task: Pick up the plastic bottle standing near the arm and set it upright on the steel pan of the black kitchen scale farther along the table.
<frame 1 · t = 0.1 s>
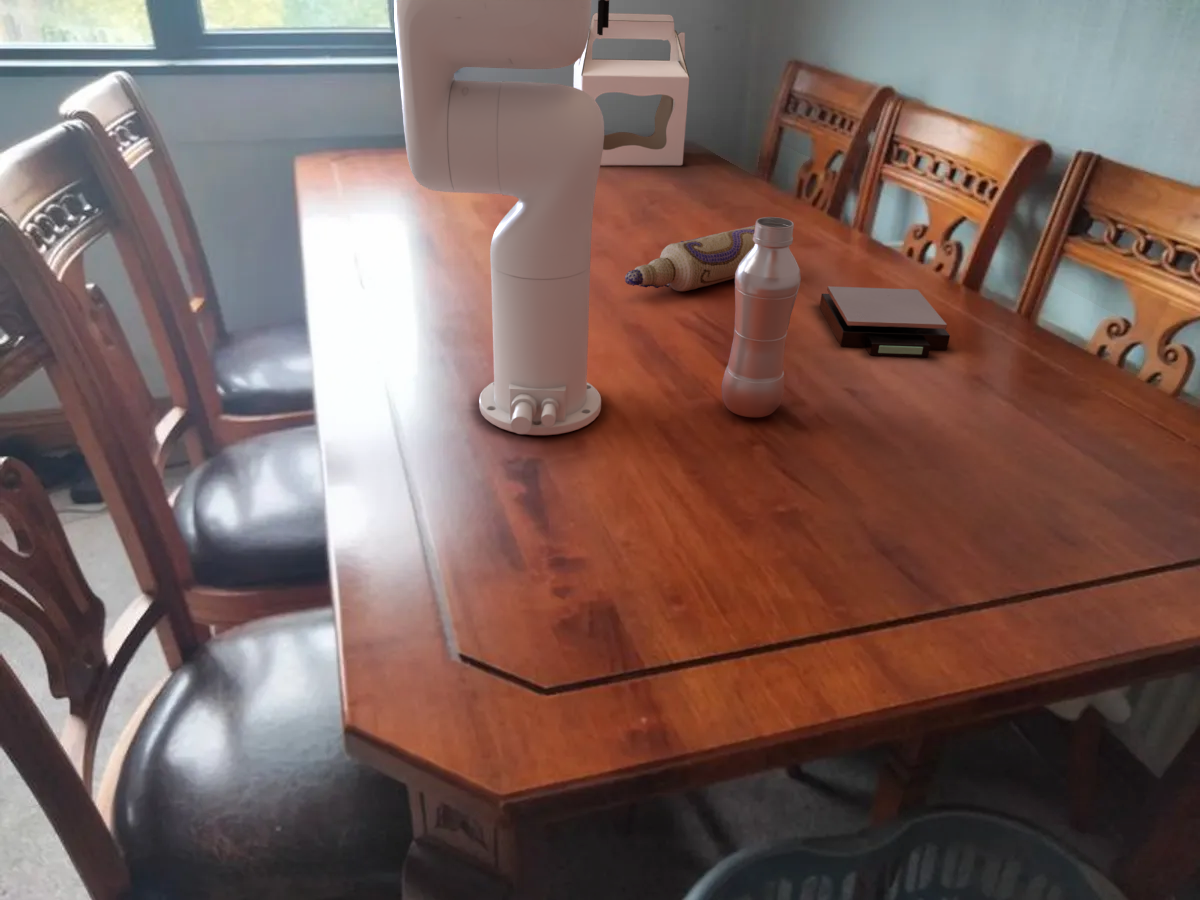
hand: (562, 32, 118), 31 cm above the table, tool pointing down, fingers open, 9 cm apart
gable box: (626, 159, 194), on the table
scale: (879, 327, 117), on the table
plastic bottle: (749, 411, 96), on the table
decorative bottle: (698, 282, 129), on the table
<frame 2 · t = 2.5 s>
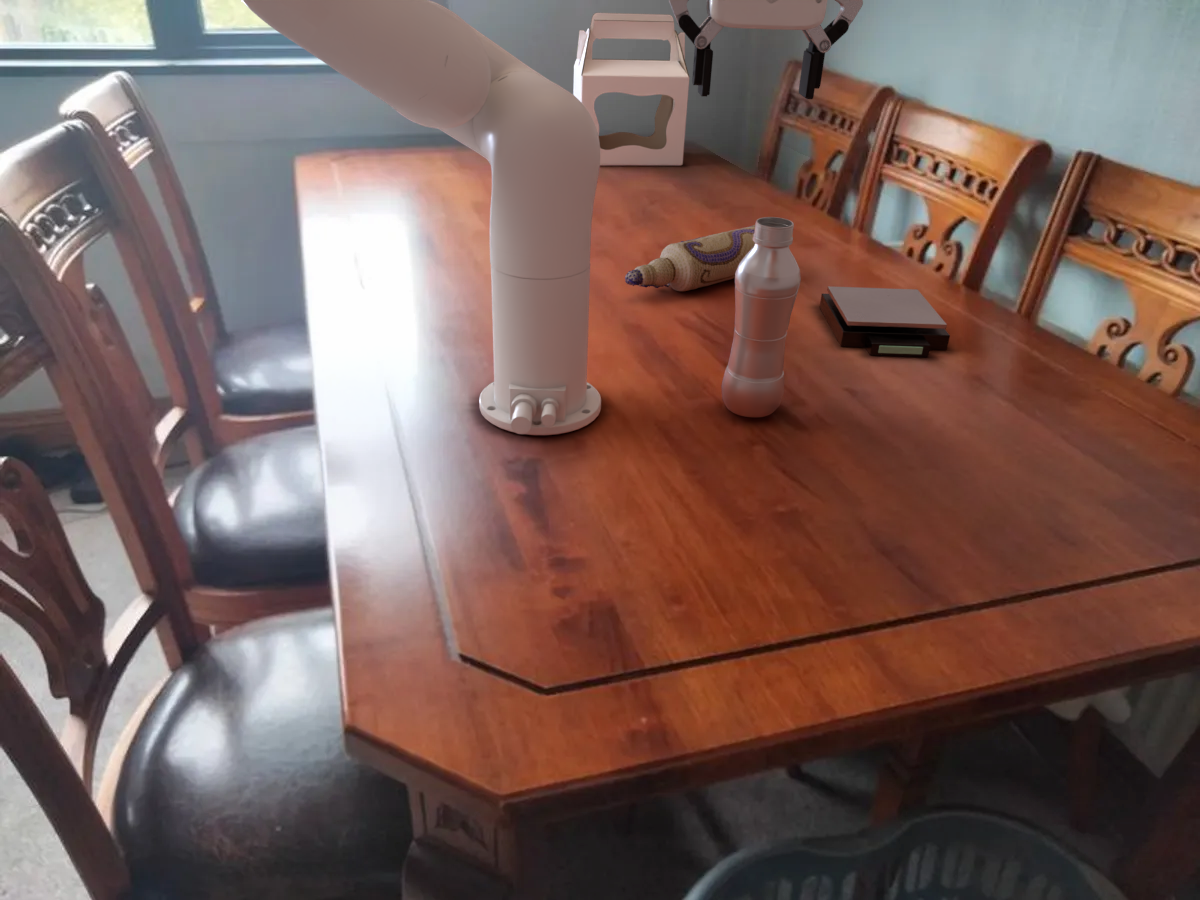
hand: (754, 95, 85), 30 cm above the table, tool pointing down, fingers open, 9 cm apart
nothing on the table moved.
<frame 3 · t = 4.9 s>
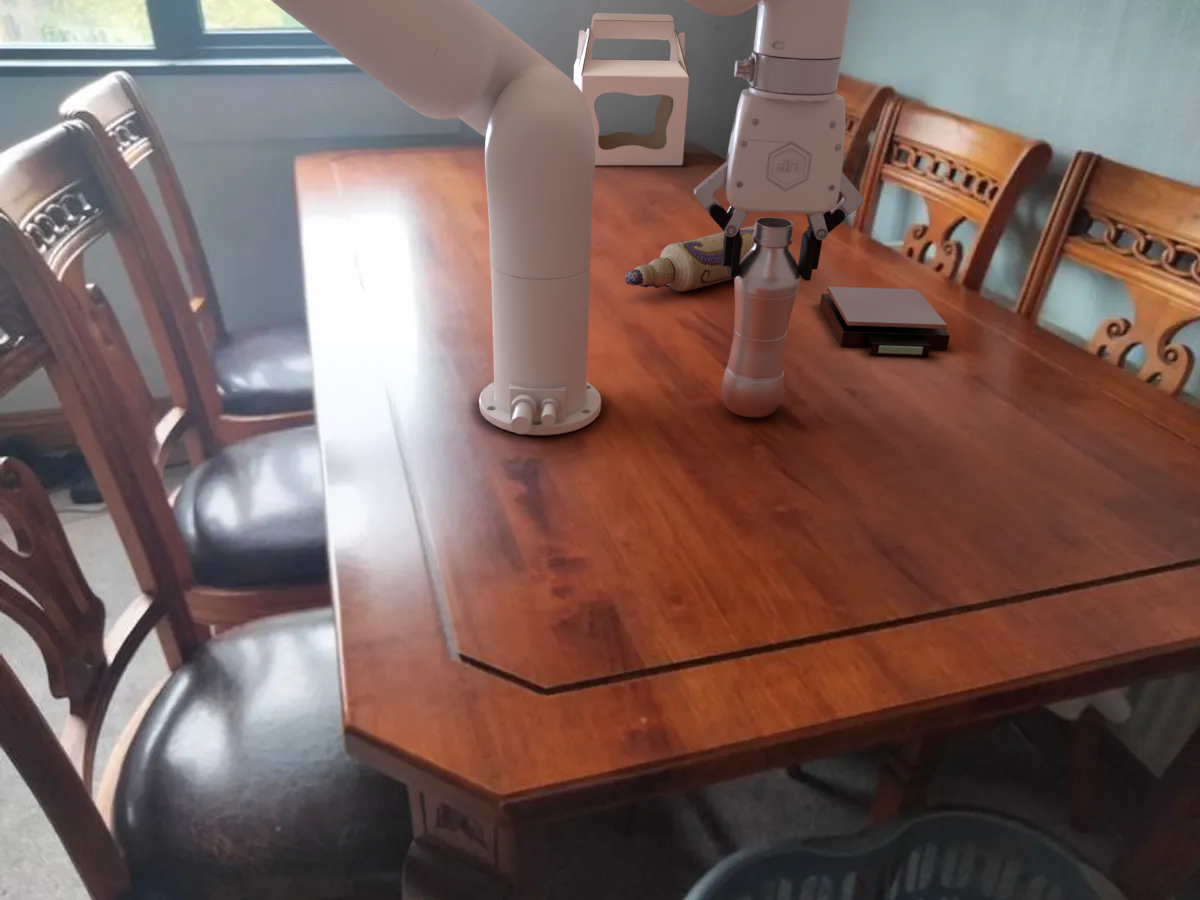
hand: (768, 273, 88), 15 cm above the table, tool pointing down, fingers closed on plastic bottle, 6 cm apart
plastic bottle: (749, 411, 96), on the table, touching gripper
everything else where it was.
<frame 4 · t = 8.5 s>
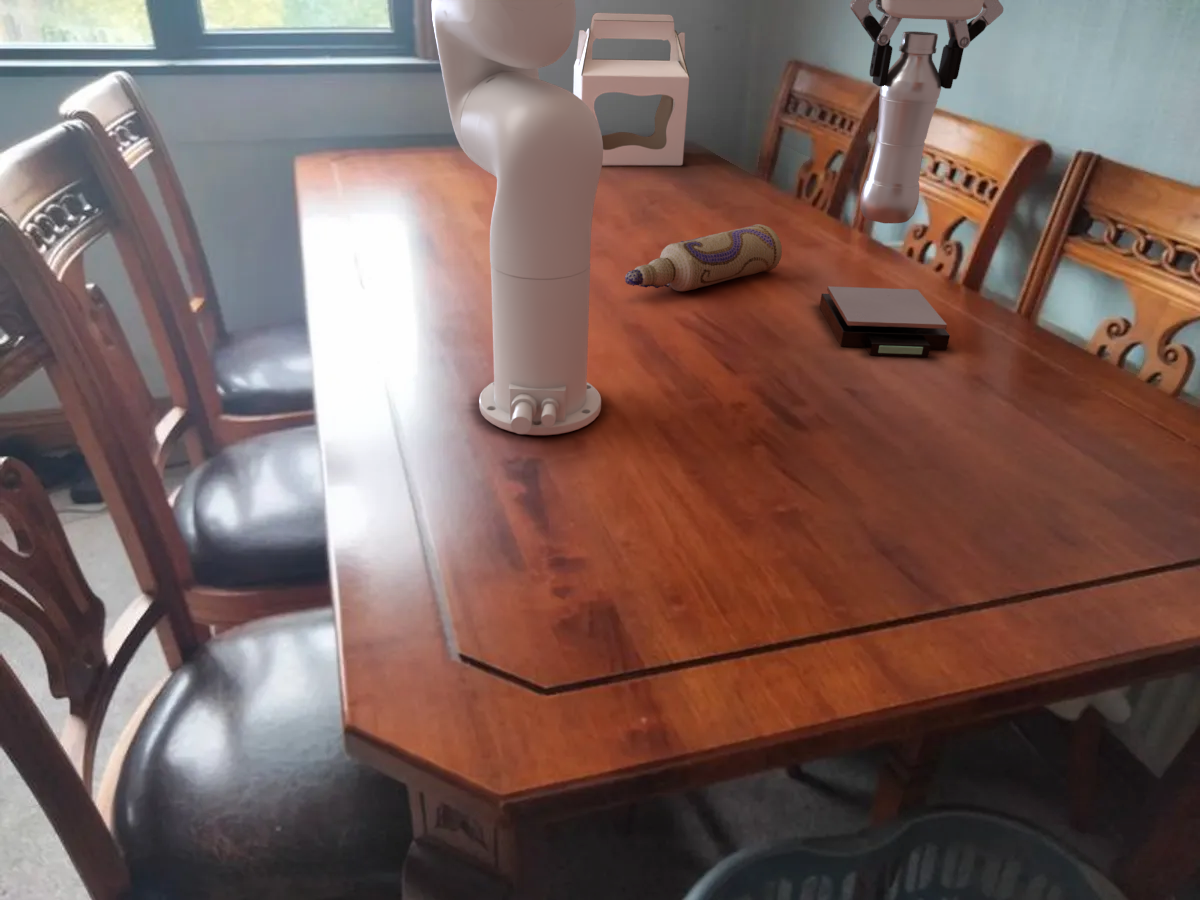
hand: (911, 83, 98), 30 cm above the table, tool pointing down, fingers closed on plastic bottle, 6 cm apart
plastic bottle: (884, 223, 106), point 15 cm above the table, touching gripper
everything else where it was.
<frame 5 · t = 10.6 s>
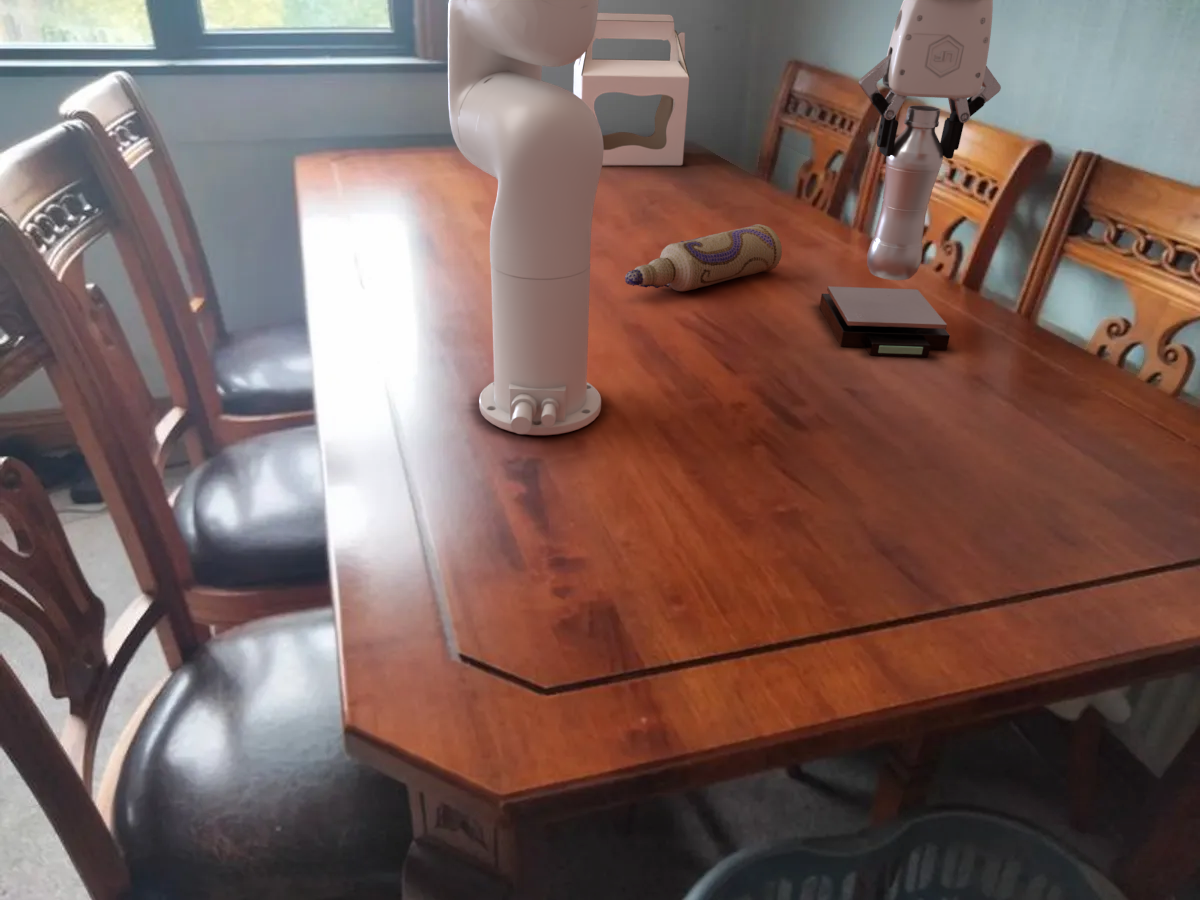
hand: (915, 153, 106), 22 cm above the table, tool pointing down, fingers closed on plastic bottle, 6 cm apart
plastic bottle: (889, 278, 113), point 7 cm above the table, touching gripper
everything else where it was.
when the fingers open (18 cm above the table, at t = 12.1 s): plastic bottle stays where it is, resting on scale.
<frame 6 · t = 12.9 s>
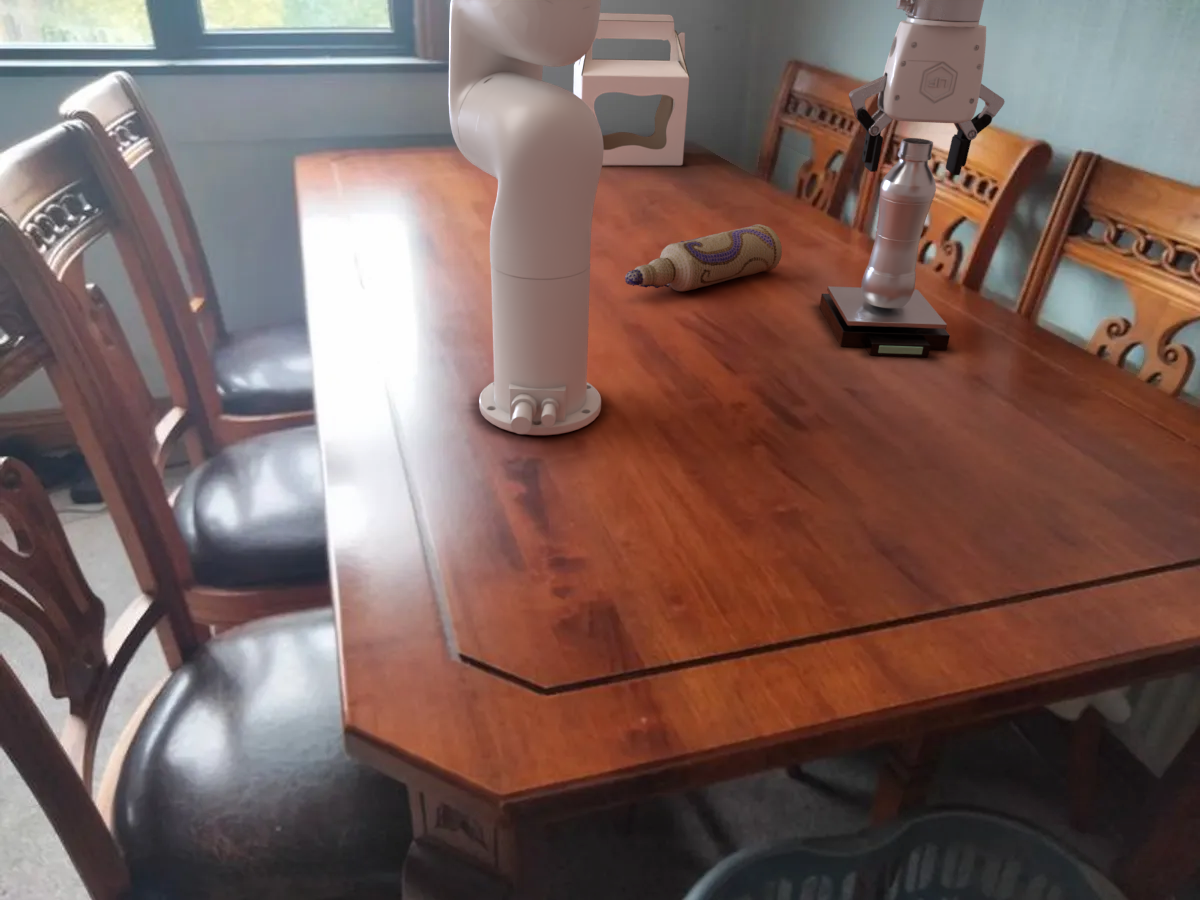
hand: (911, 170, 106), 20 cm above the table, tool pointing down, fingers open, 9 cm apart
plastic bottle: (883, 306, 115), point 3 cm above the table, touching scale
everything else where it was.
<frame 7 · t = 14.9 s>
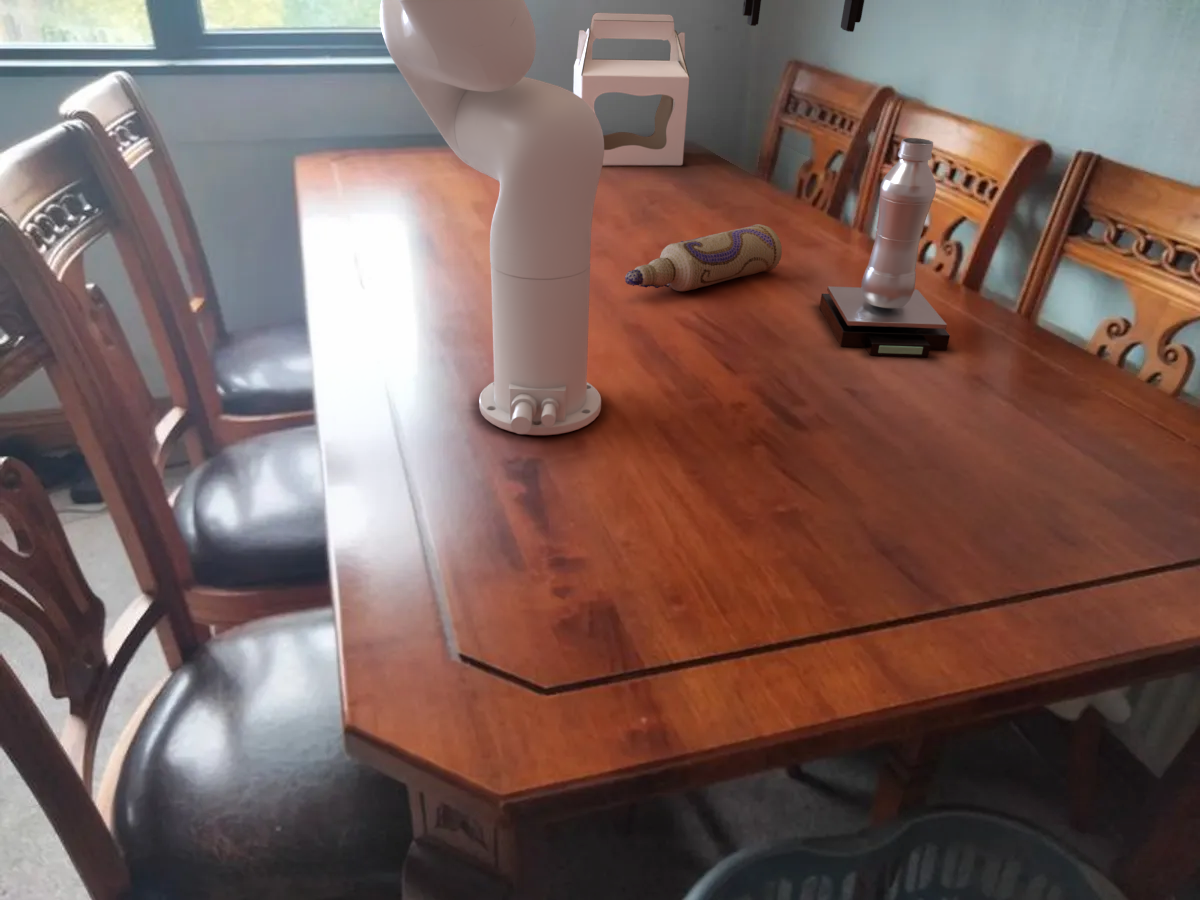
hand: (799, 27, 92), 35 cm above the table, tool pointing down, fingers open, 9 cm apart
nothing on the table moved.
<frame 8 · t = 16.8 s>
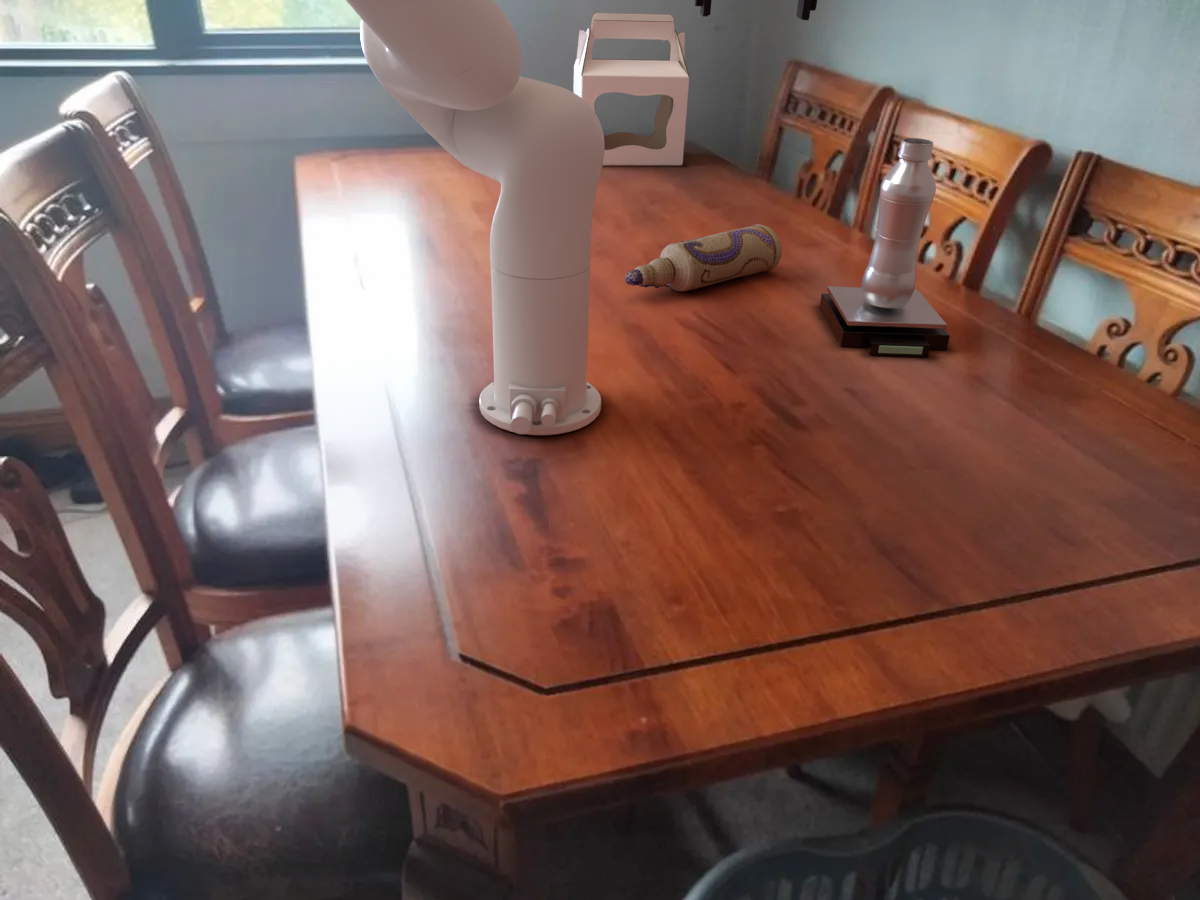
hand: (753, 17, 89), 36 cm above the table, tool pointing down, fingers open, 9 cm apart
nothing on the table moved.
at the end: plastic bottle inside the target area on the scale (0.1 cm from its centre), point 3.0 cm above the scale's base; plastic bottle tilted 0°; the gripper is holding nothing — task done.
